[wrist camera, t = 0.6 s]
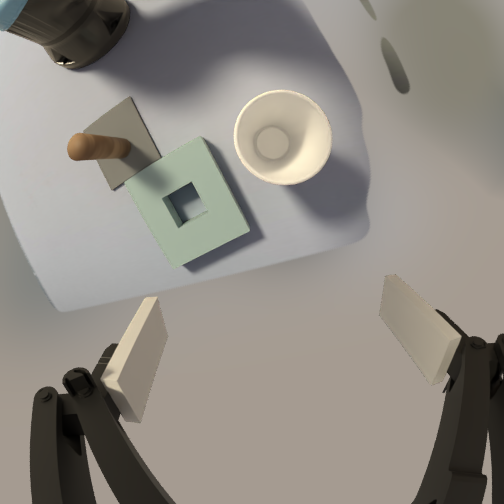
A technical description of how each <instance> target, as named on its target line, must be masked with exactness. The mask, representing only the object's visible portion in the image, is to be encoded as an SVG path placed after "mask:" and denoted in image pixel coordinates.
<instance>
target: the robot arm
mask: <svg viewBox="0 0 504 504" xmlns="http://www.w3.org/2000/svg"><path fill="white" fill-rule="evenodd" d="M129 18H130V9H129V6H128V4H127V3H126V2H125V0H0V30H1V31H7V32H9V33H12V34H15V35H17V36H20V37H23V38H25V39H28V40H30V41H33V42H35V43H38V44H40V45H42V46H43V47H44V49H45V50H46V52H47V53H48V55H49V56H50V57H51V59H52V60H53V61H54V62H55V63H56V64H58V65H60V66H63V67H65V68H69V69H76V68H81V67H84V66H87V65H89V64H91V63H93V62H95V61H97V60H98V59H100V58H101V57H102V56H104V55H105V54H106V53H107V52H108V51H109V50H110V49H112V47H113V46H114V45H115V44H116V43H117V42H118V41H119V39H120V38H121V36H122V35H123V33H124V32H125V30H126V27H127V25H128V22H129ZM379 316H380V317H381V318H382V319H383V321H384V322H385V323H386V325H387V326H388V327H389V329H390V330H391V331H392V333H393V334H394V335H395V337H396V338H397V339H398V341H399V342H400V343H401V345H402V346H403V347H404V348H405V350H406V351H407V353H408V354H409V356H410V357H411V358H412V359H413V361H414V362H415V364H416V365H417V367H418V368H419V370H420V371H421V372H422V373H423V375H424V377H425V378H426V379H427V381H428V382H429V384H430V385H431V386H432V385H435V384H437V383H439V382H442V381H443V379H444V377H445V375H446V373H448V374H449V375H450V378H449V381H448V382H447V384H446V387H445V388H444V390H443V393H444V392H445V391H446V396H445V402H444V407H443V412H442V416H441V421H440V425H439V430H438V433H437V438H436V441H435V444H434V448H433V451H432V455H431V458H430V461H429V464H428V467H427V470H426V473H425V475H424V478H423V481H422V484H421V486H420V488H419V491H418V493H417V496H416V498H415V499H414V501H413V502H412V504H482V501H483V497H484V493H485V489H486V485H487V476H486V475H483V474H482V466H483V461H484V455H485V449H486V441H487V433H488V432H489V440H490V450H491V464H492V504H504V334H500V335H499V336H498V338H497V340H496V342H495V343H486V342H485V341H484V340H483V339H482V338H480V337H476V336H472V337H468V336H467V335H466V334H465V333H464V332H463V331H462V330H461V329H460V328H459V327H458V326H457V325H456V324H454V322H453V321H452V320H450V318H449V317H448V316H447V315H446V314H445V313H443V312H441V311H439V310H437V309H436V310H434V309H433V308H432V307H431V306H430V305H429V304H428V303H427V302H426V301H425V300H424V299H422V298H421V297H420V296H419V295H418V294H417V293H416V292H415V291H414V290H413V289H412V288H410V287H409V286H408V285H407V284H406V283H405V282H404V281H402V280H401V279H400V278H399V277H398V276H397V275H396V274H395V275H388V276H385V280H384V288H383V294H382V301H381V308H380V313H379ZM167 338H168V334H167V331H166V327H165V323H164V320H163V316H162V312H161V308H160V304H159V301H158V297H146V298H145V299H144V300H143V302H142V304H141V306H140V307H139V309H138V311H137V312H136V314H135V316H134V318H133V320H132V321H131V323H130V325H129V327H128V328H127V330H126V332H125V334H124V335H123V338H122V339H121V341H120V343H119V344H111V345H110V346H109V347H108V348H106V349H105V351H104V353H103V354H102V357H101V358H100V360H99V362H98V364H97V365H96V367H95V369H94V371H93V372H92V374H90V373H89V371H88V370H87V369H85V368H79V367H78V368H74V369H72V370H70V371H68V372H67V373H66V374H65V375H64V377H63V385H64V387H65V388H66V390H67V391H68V394H58V392H57V391H56V390H55V388H53V387H44V388H41V389H40V390H39V391H38V392H37V393H36V394H35V397H34V402H33V411H32V421H31V437H30V478H31V494H32V504H96V500H95V496H94V491H93V487H92V482H91V477H90V472H89V467H88V460H87V454H86V446H85V438H84V435H85V436H86V438H87V441H88V443H89V445H90V448H91V450H92V452H93V455H94V457H95V459H96V461H97V463H98V465H99V467H100V469H101V471H102V473H103V475H104V477H105V479H106V481H107V483H108V484H109V486H110V488H111V490H112V492H113V493H114V495H115V497H116V498H117V500H118V502H119V503H120V504H176V503H175V502H174V501H173V500H172V498H171V497H170V496H169V495H168V493H167V492H166V491H165V490H164V488H163V487H162V486H161V485H160V483H159V482H158V481H157V479H156V478H155V477H154V475H153V474H152V473H151V471H150V470H149V468H148V467H147V465H146V464H145V462H144V461H143V460H142V458H141V457H140V455H139V453H138V452H137V450H136V449H135V447H134V446H133V444H132V443H131V441H130V440H129V438H128V436H127V434H126V432H125V431H124V429H123V427H122V426H121V424H120V422H119V421H118V419H119V416H120V414H121V415H122V417H123V418H124V420H125V421H127V422H135V423H141V420H142V416H143V413H144V410H145V407H146V403H147V400H148V397H149V393H150V390H151V387H152V384H153V381H154V377H155V374H156V371H157V368H158V365H159V362H160V359H161V356H162V353H163V350H164V347H165V344H166V341H167ZM502 374H503V380H502V377H501V376H502Z"/></svg>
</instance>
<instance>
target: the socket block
mask: <svg viewBox="0 0 504 504" xmlns="http://www.w3.org/2000/svg"><path fill="white" fill-rule="evenodd" d="M190 182H192V183H193V185H194V187H195V189H196V191H197V192H198V194H199V196H200V198H201V200H202V202H203V204H204V205H205V207H206V209H207V211H205V212H203V213H201V214H199V215H198V216H196V217H194V218H192V219H190V220H188V221H186V222H185V223H182V221H181V219H180V217H179V216H178V214H177V212H176V210H175V208H174V207H173V205H172V203H171V201H170V199H169V197H168V195H169V194H171V193H173V192H175V191H176V190H178V189H180V188H182V187H183V186H185V185H187V184H189V183H190ZM124 184H125V185H126V187H127V189H128V191H129V193H130V195H131V197H132V199H133V201H134V202H135V204H136V206H137V208H138V210H139V212H140V213H141V215H142V217H143V219H144V220H145V222H146V224H147V226H148V228H149V229H150V231H151V233H152V234H153V236H154V238H155V240H156V241H157V243H158V245H159V246H160V248H161V250H162V251H163V253H164V255H165V256H166V258H167V260H168V261H169V263H170V265H171V266H172V268H173V269H175V268H177V267H179V266H181V265H183V264H185V263H187V262H189V261H191V260H193V259H195V258H197V257H199V256H201V255H203V254H205V253H207V252H209V251H211V250H213V249H215V248H217V247H219V246H221V245H223V244H225V243H227V242H229V241H231V240H233V239H235V238H237V237H239V236H241V235H243V234H245V233H247V232H249V231H250V226H249V224H248V222H247V220H246V218H245V216H244V214H243V212H242V210H241V208H240V206H239V204H238V203H237V201H236V199H235V197H234V195H233V193H232V191H231V189H230V187H229V185H228V183H227V181H226V180H225V178H224V176H223V174H222V172H221V170H220V168H219V166H218V164H217V162H216V161H215V159H214V157H213V155H212V153H211V151H210V149H209V147H208V145H207V144H206V142H205V140H204V138H203V137H201V136H199V137H197V138H195V139H194V140H192V141H190V142H188V143H186V144H185V145H183V146H181V147H179V148H178V149H176V150H174V151H173V152H171V153H169V154H167V155H166V156H164V157H162V158H161V159H159V160H158V161H156V162H154V163H153V164H151V165H150V166H148V167H146V168H145V169H143V170H142V171H140V172H139V173H137V174H136V175H134V176H133V177H131V178H130V179H128V180H127V181H125V182H124Z"/></svg>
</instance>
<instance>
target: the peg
mask: <svg viewBox="0 0 504 504" xmlns="http://www.w3.org/2000/svg"><path fill="white" fill-rule="evenodd" d="M130 150H131V144H130V142H129V141H128V140H127V139H125V138H118V137H110V136H102V135H94V134H85V133H77V134H75V135H74V136H72V138H71V139H70V141H69V143H68V148H67V151H68V155H69V157H70V158H71V159H72V160H75V161H80V160H97V159H122V158H125V157H126V156H128V154H129V153H130Z"/></svg>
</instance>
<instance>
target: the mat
mask: <svg viewBox="0 0 504 504" xmlns="http://www.w3.org/2000/svg"><path fill="white" fill-rule="evenodd" d="M84 133H85V134H94V135H102V136H110V137H118V138H125V139H127V140H128V141H129V142H130V144H131V150H130V153H129V154H128V156H126V157H125V158H122V159H97V162H98V164H99V166H100V168H101V170H102V172H103V174H104V176H105V178H106V180H107V182H108V184H109V186H110V188H111V190H113V189H115V188H116V187H118V186H119V185H120V184H122V183H123V182H125V181H126V180H128V179H129V178H131V177H132V176H134V175H135V174H137V173H138V172H140V171H141V170H143V169H144V168H146V167H148V166H149V165H151V164H152V163H154V162H156V161H157V160H159V159H160V158H161V156H160V154H159V152H158V150H157V149H156V147H155V145H154V143H153V141H152V139H151V137H150V135H149V133H148V131H147V129H146V127H145V125H144V123H143V121H142V119H141V117H140V115H139V113H138V111H137V109H136V107H135V105H134V103H133V101H132V99H131V97H130V96H129V97H128V98H126V99H125V100H123V101H122V102H121V103H119V104H118V105H116V106H115V107H114V108H112V109H111V110H109V111H108V112H107V113H105V114H104V115H103V116H101V117H100V118H99V119H98V120H96V121H95V122H94V123H92V124H91V125H90V126H89V127H88V128H86V129H85V130H84Z"/></svg>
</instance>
